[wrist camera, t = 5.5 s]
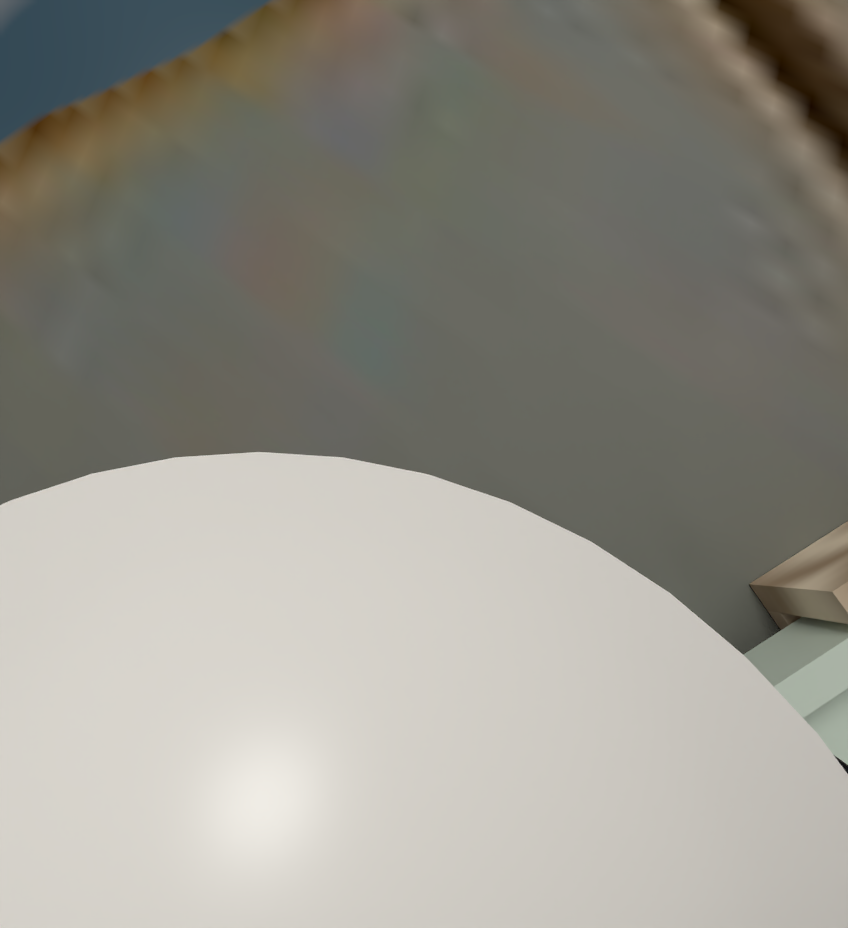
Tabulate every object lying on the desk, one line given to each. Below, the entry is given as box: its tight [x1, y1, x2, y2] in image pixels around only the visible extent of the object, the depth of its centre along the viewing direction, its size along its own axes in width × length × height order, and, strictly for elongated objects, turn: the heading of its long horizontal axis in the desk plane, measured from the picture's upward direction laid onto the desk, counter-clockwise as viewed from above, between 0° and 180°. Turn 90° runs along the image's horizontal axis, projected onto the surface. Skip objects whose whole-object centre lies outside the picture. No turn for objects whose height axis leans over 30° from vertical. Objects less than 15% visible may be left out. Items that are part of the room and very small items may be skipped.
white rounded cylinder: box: [0, 452, 848, 928], centre depth 8 cm, size 6×6×13 cm
